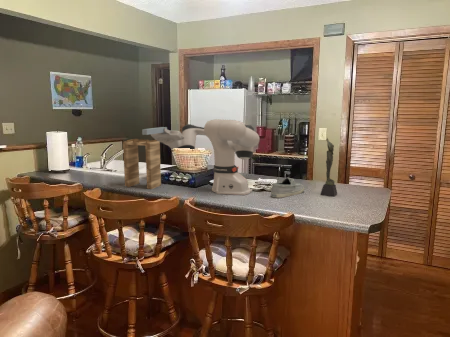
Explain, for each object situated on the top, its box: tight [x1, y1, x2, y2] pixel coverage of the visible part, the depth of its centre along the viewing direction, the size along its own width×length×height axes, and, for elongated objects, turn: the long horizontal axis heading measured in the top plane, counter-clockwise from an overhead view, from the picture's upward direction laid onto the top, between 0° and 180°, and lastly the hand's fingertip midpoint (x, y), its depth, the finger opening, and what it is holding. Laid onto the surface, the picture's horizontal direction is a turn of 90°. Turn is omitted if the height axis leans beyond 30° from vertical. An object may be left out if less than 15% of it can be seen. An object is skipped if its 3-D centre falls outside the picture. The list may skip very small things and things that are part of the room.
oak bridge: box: [122, 138, 162, 190], centre depth 208 cm, size 18×10×27 cm, turn 69°
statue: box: [320, 137, 338, 198], centre depth 189 cm, size 7×8×30 cm
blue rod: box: [141, 126, 168, 136], centre depth 215 cm, size 3×23×3 cm, turn 160°
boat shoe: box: [270, 177, 305, 199], centre depth 192 cm, size 9×25×9 cm, turn 140°
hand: (161, 129), depth 221 cm, fingers closed on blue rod, 3 cm apart
